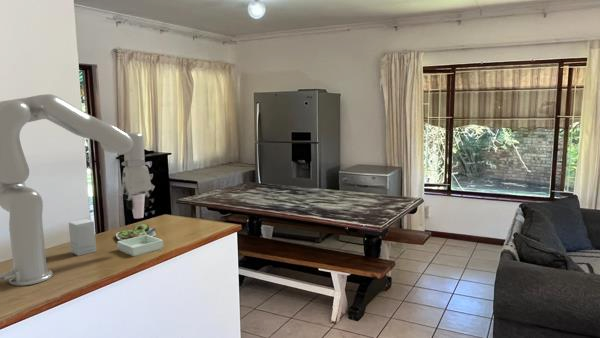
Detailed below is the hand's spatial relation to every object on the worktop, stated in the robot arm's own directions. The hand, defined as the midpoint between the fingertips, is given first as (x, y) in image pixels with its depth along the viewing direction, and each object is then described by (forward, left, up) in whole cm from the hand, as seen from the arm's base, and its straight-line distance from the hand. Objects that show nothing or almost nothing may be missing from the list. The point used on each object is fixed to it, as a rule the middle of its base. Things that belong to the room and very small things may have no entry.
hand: (137, 207), depth 179 cm
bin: (0, 0, -17) cm, 17 cm away
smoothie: (0, 0, -4) cm, 4 cm away
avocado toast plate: (+8, +19, -18) cm, 28 cm away
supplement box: (-17, +15, -18) cm, 29 cm away
